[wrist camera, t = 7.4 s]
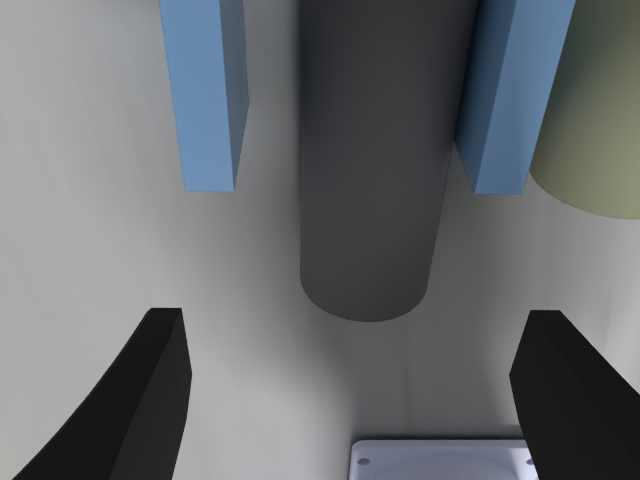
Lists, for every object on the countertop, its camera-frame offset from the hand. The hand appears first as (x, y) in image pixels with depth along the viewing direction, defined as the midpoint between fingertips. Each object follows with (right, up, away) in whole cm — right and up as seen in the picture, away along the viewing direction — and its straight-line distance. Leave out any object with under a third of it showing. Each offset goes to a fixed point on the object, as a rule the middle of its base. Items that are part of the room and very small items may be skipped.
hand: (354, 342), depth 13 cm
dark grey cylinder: (0, +6, +3) cm, 7 cm away
